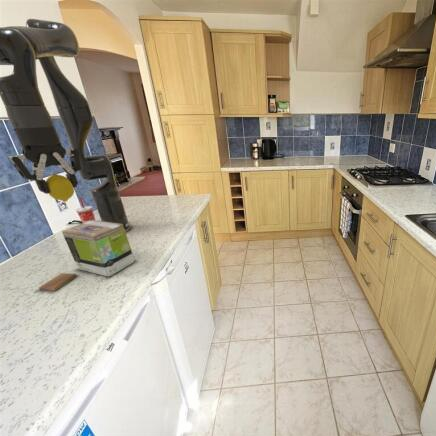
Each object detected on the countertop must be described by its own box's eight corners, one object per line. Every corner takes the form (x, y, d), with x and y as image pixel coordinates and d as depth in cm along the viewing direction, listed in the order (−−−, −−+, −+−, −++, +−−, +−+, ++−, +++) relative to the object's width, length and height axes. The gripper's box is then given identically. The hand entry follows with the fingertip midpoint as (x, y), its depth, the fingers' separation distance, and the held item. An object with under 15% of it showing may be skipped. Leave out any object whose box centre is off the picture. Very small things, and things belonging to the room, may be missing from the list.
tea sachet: (40, 290, 72) (38, 287, 72) (62, 275, 79) (61, 273, 78) (55, 290, 72) (53, 288, 71) (76, 276, 78) (75, 273, 78)
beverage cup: (79, 227, 113) (68, 199, 108) (93, 222, 119) (83, 195, 113) (87, 229, 111) (76, 200, 106) (101, 224, 116) (91, 196, 111)
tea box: (136, 261, 86) (124, 223, 80) (108, 278, 77) (92, 236, 71) (106, 254, 90) (92, 218, 84) (77, 269, 82) (59, 230, 76)
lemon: (63, 198, 71) (51, 171, 68) (82, 197, 72) (72, 171, 69) (47, 205, 66) (34, 176, 63) (68, 204, 67) (56, 176, 64)
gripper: (61, 123, 68) (82, 182, 75) (-14, 127, 56) (20, 195, 63) (75, 124, 65) (96, 184, 72) (-1, 127, 53) (33, 199, 60)
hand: (60, 189), depth 68 cm, fingers closed on lemon, 5 cm apart
